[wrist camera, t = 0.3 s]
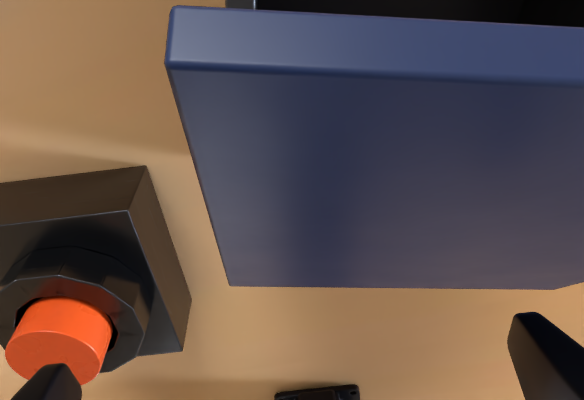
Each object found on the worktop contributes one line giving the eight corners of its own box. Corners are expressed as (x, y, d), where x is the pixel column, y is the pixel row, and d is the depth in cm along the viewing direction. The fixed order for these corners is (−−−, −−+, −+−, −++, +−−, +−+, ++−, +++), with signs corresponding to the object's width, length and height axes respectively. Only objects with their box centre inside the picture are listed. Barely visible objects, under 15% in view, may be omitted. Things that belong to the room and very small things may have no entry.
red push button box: (192, 299, 30) (177, 383, 25) (69, 313, 30) (29, 399, 25) (146, 164, 24) (115, 239, 19) (-6, 183, 24) (-76, 261, 19)
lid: (168, 0, 5) (162, 65, 5) (1196, 58, 6) (1239, 114, 6) (229, 265, 17) (228, 286, 17) (550, 269, 18) (554, 290, 18)
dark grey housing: (238, -136, 17) (222, -144, 11) (568, -111, 18) (738, -104, 11) (239, 163, 24) (229, 267, 18) (474, 170, 25) (546, 271, 19)
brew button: (124, 346, 23) (113, 383, 22) (45, 355, 23) (28, 392, 22) (96, 290, 21) (81, 326, 19) (9, 300, 21) (-13, 337, 19)
